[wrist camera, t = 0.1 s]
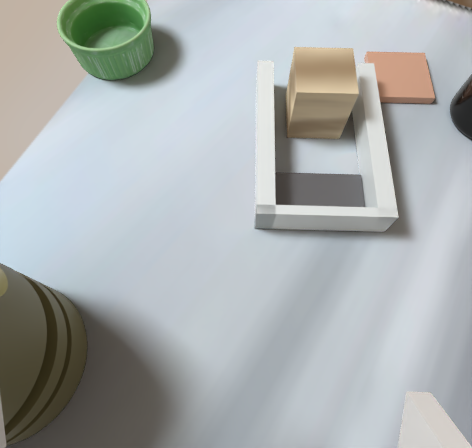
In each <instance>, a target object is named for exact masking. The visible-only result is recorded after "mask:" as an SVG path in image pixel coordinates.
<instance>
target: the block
mask: <svg viewBox="0 0 472 448" xmlns="http://www.w3.org/2000/svg"><path fill="white" fill-rule="evenodd" d="M358 95H359V91H358V83H357V76H356V68H355V61H354V53H353V48H312V47H294V53H293V59H292V64H291V70H290V75H289V81H288V87H287V92H286V124H287V138H324V139H340V136H341V134H342V132H343V129H344V127H345V125H346V122H347V120H348V118H349V116H350V113H351V111H352V109H353V106H354V104H355V102H356V99H357V97H358Z"/></svg>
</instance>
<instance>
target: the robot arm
mask: <svg viewBox="0 0 472 448" xmlns="http://www.w3.org/2000/svg"><path fill="white" fill-rule="evenodd" d="M6 446H7V445H6V437H5V428H4V420H3V412H2V404H1V395H0V448H5V447H6ZM398 448H472V447H471V445H470V444H469V443H468V441H467V440H466V439H465V437H464V436H463V435H462V434H461V432H460V431H459V430H458V428H457V427H456V426H455V424H454V423H453V422H452V420H451V419H450V418H449V416H448V415H447V414H446V412H445V411H444V410H443V408H442V407H441V406H440V404H439V403H438V402H437V400H436V399H435V398H434V396H433V395H432V394H431V393H429V392H406V398H405V405H404V411H403V417H402V423H401V430H400V436H399V442H398Z"/></svg>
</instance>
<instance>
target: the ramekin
mask: <svg viewBox="0 0 472 448" xmlns="http://www.w3.org/2000/svg"><path fill="white" fill-rule="evenodd" d="M57 28H58V32H59V34H60V36H61V37H62V39H63V40H64V41H65V43H66V44H67V45H68V46H69V47H70V48H71V50H72V52H73V54H74V55H75V57H76V58H77V60H78V61H79V63H80V64H81V66H82V67H83V68H84V69H85V70H86V71H87V72H88V73H90V74H91V75H93V76H95V77H98V78H101V79H107V80H117V79H123V78H127V77H130V76H132V75H134V74H136V73H138V72H140V71H141V70H142V69H143V68H144V67H145V66H146V65H147V64H148V63H149V62H150V60H151V58H152V55H153V51H154V44H153V38H152V31H151V13H150V8H149V6H148V4H147V2H146V1H145V0H69V1H68V2H67V3H66V4H65V5H64V6H63V7H62V9H61V10H60V12H59V15H58V18H57Z"/></svg>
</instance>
